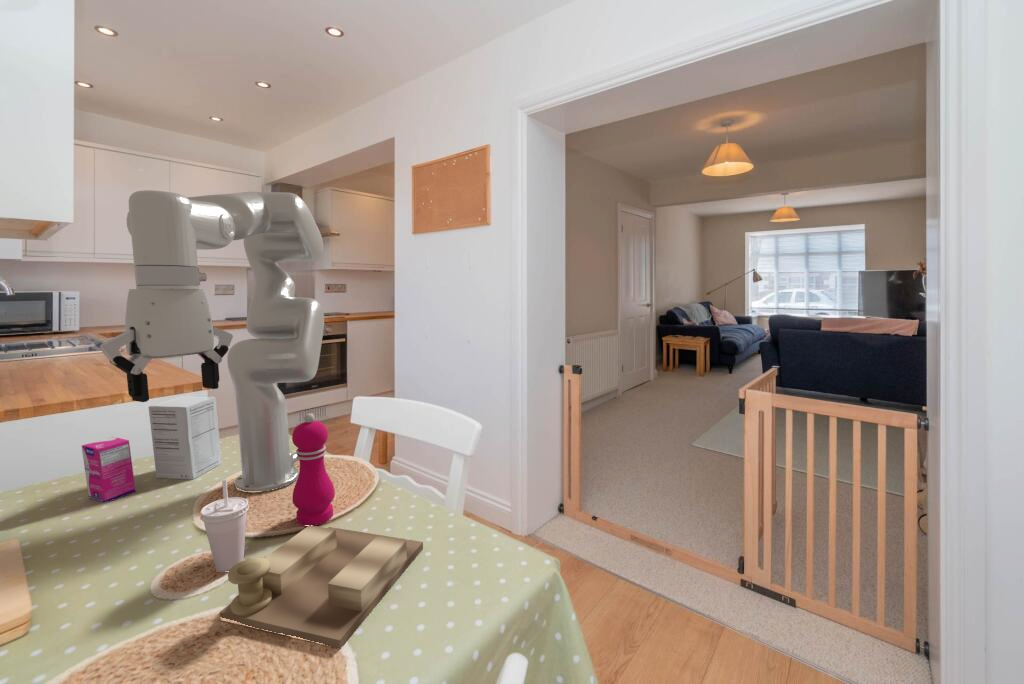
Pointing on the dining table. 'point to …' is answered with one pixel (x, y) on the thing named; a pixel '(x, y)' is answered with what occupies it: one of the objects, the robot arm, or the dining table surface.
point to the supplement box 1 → (108, 468)
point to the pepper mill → (312, 474)
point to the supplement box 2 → (185, 437)
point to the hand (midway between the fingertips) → (177, 394)
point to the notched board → (319, 583)
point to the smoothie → (226, 529)
